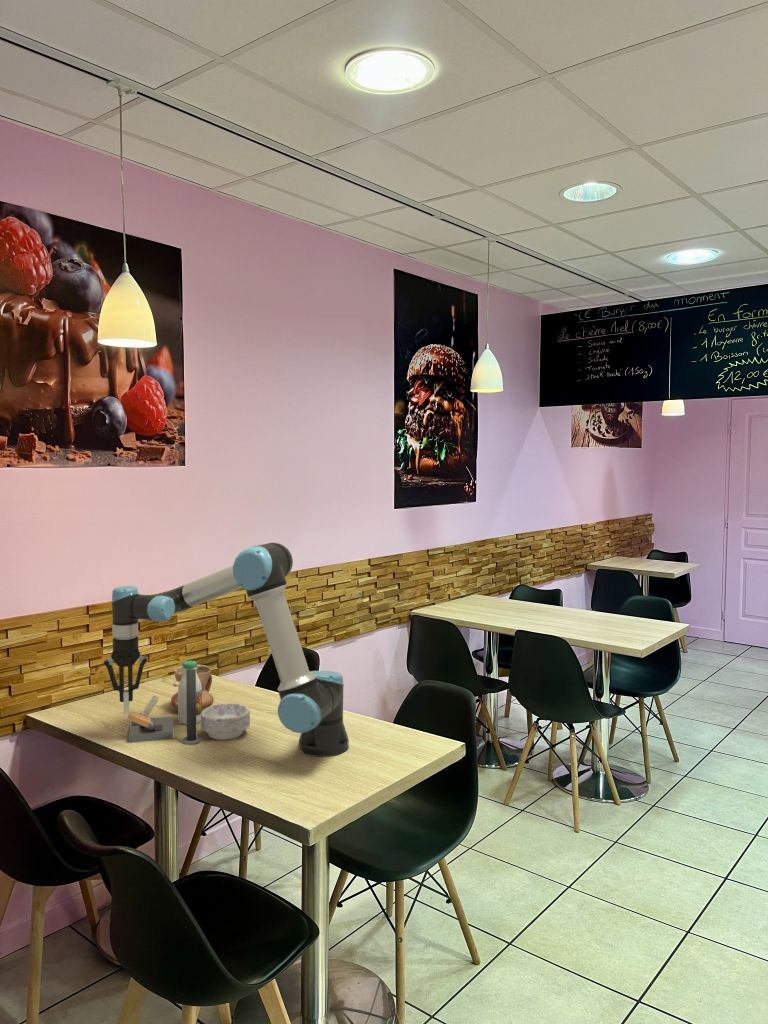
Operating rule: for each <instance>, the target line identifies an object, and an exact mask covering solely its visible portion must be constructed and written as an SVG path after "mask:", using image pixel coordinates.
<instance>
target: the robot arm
mask: <svg viewBox="0 0 768 1024" xmlns="http://www.w3.org/2000/svg"><path fill="white" fill-rule="evenodd" d="M293 562H294V560H293V556H292V553H291V551H290V550H289V548H287V547H286V546H285V545H284V544H281V543H278V542H269V543H264V544H258V545H254V546H250V547H248V548H245V549H244V550H241V552H239V553H238V554H237V556H236V557H235V560H234V561H233V563H232V564H233V565H231V566H229V567H226V568H224V569H221V570H219V571H216V572H213V573H211V574H209V575H206V576H204V577H201V578H198V579H196V580H194V581H191V582H189V583H186V584H184V585H180V586H177V587H176V588H172V589H170V590H167V591H163V592H159V593H156V594H140V593H139V591H138V588H137V586H131V585H123V586H118V587H115V588H113V589H112V591H111V593H112V594H111V595H112V596H111V610H112V625H111V627H112V628H111V629H112V631H111V632H112V637H113V638H112V652H111V655H110V657H108V658H106V659H104V660H103V664H104V666H105V667H106V669H107V671H108V675H109V679H110V683H111V686H112V689H113V691H115V692H117V691H118V692H119V702H120V703H123V714H129V713H130V702H133V699H134V690H138V689H139V687H140V683H141V678H142V675H143V670H144V668H145V667H144V666H145V665H146V663H147V662H148V657H147V656H144V655H141V651H140V650H139V636H138V635H139V620H145V621H153V622H168V621H170V620H171V618H172V617H173V616H174V615H175V614H178V613H181V612H182V613H183V612H185V611H187V610H189V609H192V608H194V607H197V606H199V605H201V604H204V603H206V602H209V601H211V600H214V599H217V598H220V597H222V596H223V597H224V596H225V595H227V594H230V593H232V592H236V591H239V590H240V589H244V590H245V592H246V595H247V598H248V599H249V600H252V601H253V602H255V605H256V608H257V611H258V614H259V617H260V621H261V623H262V626H263V627H262V628H263V630H264V634H265V637H266V639H267V642H268V643H267V644H268V646H269V649H270V653H271V655H272V659H273V662H274V665H275V668H276V671H277V674H278V678H279V680H280V682H279V685H278V687H277V692H278V696H279V698H280V701H279V703H278V706H277V716H278V719H279V721H280V722H281V724H282V725H283V727H284V728H286V729H287V730H290V731H291V732H292V733H296V734H300V735H299V739H298V750H299V751H300V752H301V753H303V754H306V755H308V756H313V757H330V756H331V757H332V756H335V755H336V756H337V755H340V754H342V753H344V752H346V751H348V750H349V748H350V747H349V746H350V745H349V743H350V739H349V735H348V733H347V730H346V727H345V723H344V686H345V684H344V678H343V677H344V676H343V675H342V674H341V673H339V672H337V671H329V670H309V666H308V663H307V659H306V657H305V654H304V651H303V647H302V645H301V641H300V638H299V634H298V632H297V628H296V625H295V623H294V619H293V616H292V612H291V610H290V606H289V604H288V601H287V598H286V595H285V590H286V588H287V586H288V583H287V580H286V578H287V576H289V574H290V573H291V571H292V568H293V565H294V563H293ZM137 661H138V663H139V665H138V670H137V675H136V678H135V682H134V680H133V677H134V674H133V673H134V672H133V669H134V668H133V666H134V665H135V664H136V662H137ZM113 662H114V663H115V664H116V665H117V666H118V672H119V673H118V674H119V675H118V678H119V680H118V681H119V682H117V678H116V674H115V671H114V667H113ZM125 667H127V681H128V682H127V684H128V685H127V686H128V687H127V688H128V689H125ZM118 683H119V684H118Z"/></svg>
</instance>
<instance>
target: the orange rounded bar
mask: <svg viewBox="0 0 768 1024" xmlns="http://www.w3.org/2000/svg"><path fill="white" fill-rule="evenodd" d="M127 720H128V721H130V722H131V721H133V722H135V723H137V724H140V725H142V726H145V727H147V728H148V729H149V730H153V729H154V728H155V720H154V719H150V718H149V717H148V716H147V717H145V716H142V715H140V713H137V712H136V711H133V710H129V713H128V714H127Z"/></svg>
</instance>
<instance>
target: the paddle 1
mask: <svg viewBox="0 0 768 1024" xmlns="http://www.w3.org/2000/svg"><path fill="white" fill-rule="evenodd" d="M158 702H159V696H157V695H155V694H153V695H152V697H151V698H150V700H149V701H148V703H147V705H146V706H145V707H144V709H143V711H142V712H141V713H139V714H140V715H142V716H145V717H147V718H148V716H149V715H150V714H151V712H152V711H153V709H154V708H155V706H156V705H157V704H158Z"/></svg>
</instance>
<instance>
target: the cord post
mask: <svg viewBox="0 0 768 1024" xmlns="http://www.w3.org/2000/svg"><path fill="white" fill-rule="evenodd" d="M186 691H187V725H186V737H183V738H181V743H182V744H183V745H187V746H191V745H192V746H193V745H197V744H199V743H201V742H202V740H203V739H202V737H201V736H199V735H197V724H196V670H195V669H188V670H186Z"/></svg>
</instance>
